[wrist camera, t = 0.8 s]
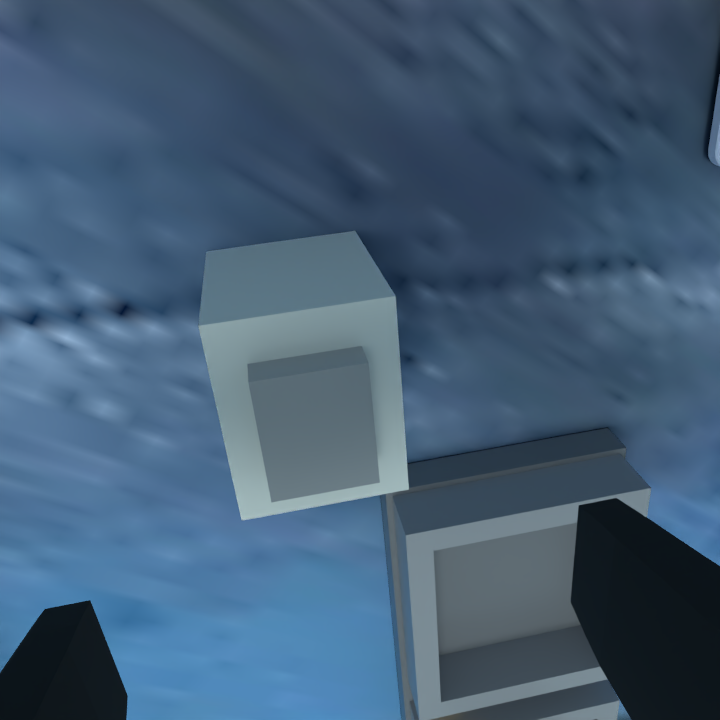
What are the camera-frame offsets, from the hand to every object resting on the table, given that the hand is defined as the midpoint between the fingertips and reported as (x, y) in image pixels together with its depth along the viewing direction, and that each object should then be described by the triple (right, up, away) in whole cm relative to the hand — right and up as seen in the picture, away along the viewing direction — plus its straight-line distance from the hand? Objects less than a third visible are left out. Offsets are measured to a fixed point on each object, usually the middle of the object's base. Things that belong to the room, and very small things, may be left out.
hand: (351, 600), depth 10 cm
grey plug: (-2, +5, +9) cm, 10 cm away
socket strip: (+5, -8, +17) cm, 19 cm away
